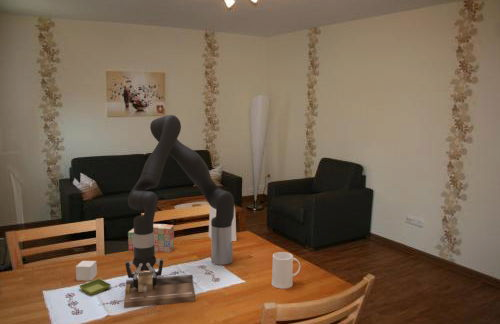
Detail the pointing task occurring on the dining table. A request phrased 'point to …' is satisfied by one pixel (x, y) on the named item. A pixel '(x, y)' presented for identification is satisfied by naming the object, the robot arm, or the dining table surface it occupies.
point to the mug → (283, 270)
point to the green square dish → (95, 286)
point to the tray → (161, 292)
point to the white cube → (86, 270)
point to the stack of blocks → (158, 238)
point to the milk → (213, 214)
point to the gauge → (145, 282)
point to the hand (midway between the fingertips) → (145, 286)
